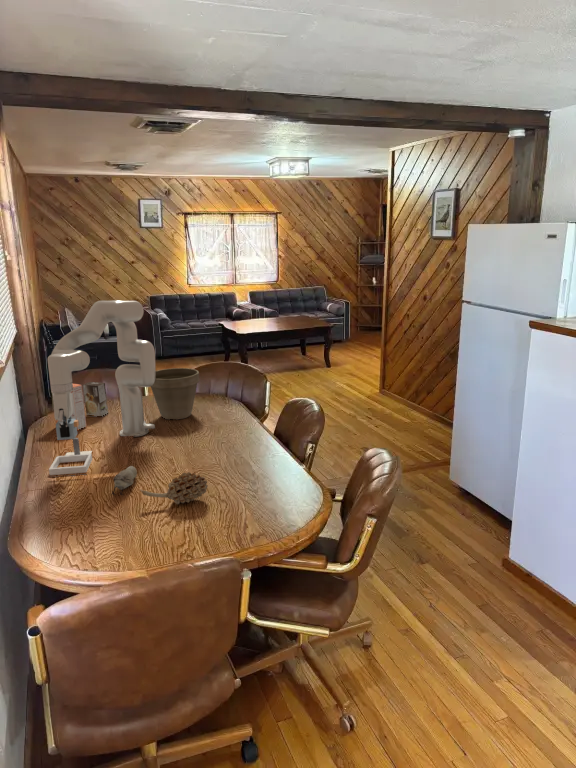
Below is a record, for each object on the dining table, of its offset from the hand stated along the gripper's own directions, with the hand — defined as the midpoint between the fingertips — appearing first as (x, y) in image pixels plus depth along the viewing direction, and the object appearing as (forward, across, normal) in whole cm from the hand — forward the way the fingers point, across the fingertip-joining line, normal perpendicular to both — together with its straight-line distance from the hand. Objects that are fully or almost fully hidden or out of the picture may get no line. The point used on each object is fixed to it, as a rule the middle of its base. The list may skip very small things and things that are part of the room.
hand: (67, 433), depth 210 cm
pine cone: (+15, +36, +40) cm, 56 cm away
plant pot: (+14, -62, +38) cm, 74 cm away
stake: (+14, -12, 0) cm, 19 cm away
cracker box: (+14, -54, -10) cm, 57 cm away
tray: (+15, 0, 0) cm, 15 cm away
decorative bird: (+15, +20, +22) cm, 34 cm away
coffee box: (+14, -72, -1) cm, 73 cm away
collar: (+1, 0, 0) cm, 1 cm away
